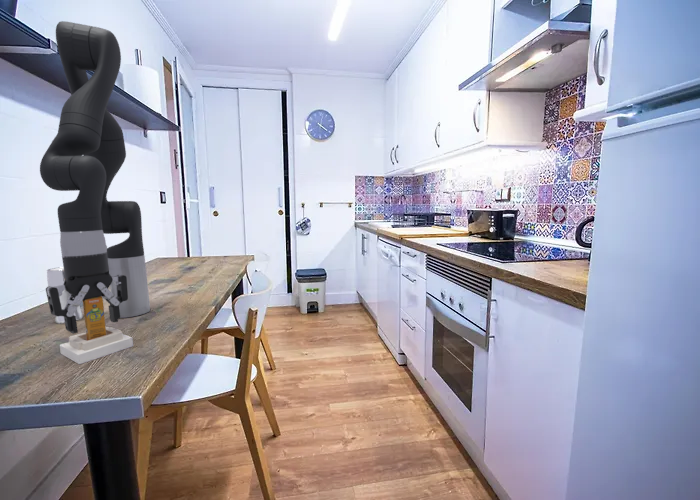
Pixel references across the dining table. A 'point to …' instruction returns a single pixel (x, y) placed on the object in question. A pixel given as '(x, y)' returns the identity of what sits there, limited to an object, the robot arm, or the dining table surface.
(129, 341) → the display stand
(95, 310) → the supplement box
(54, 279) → the beer glass
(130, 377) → the dining table surface
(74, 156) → the robot arm
